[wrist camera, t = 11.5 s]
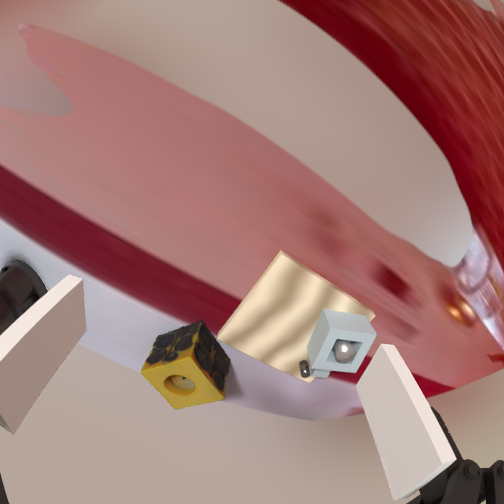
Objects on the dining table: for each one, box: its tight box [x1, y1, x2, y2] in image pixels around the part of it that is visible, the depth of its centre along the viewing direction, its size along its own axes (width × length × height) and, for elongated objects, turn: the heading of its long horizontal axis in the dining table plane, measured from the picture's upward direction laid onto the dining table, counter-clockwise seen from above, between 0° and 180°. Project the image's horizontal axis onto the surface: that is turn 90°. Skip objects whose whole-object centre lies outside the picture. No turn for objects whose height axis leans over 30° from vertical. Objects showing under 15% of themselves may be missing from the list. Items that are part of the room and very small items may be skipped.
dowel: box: [299, 360, 310, 378], centre depth 46 cm, size 2×2×3 cm
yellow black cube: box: [141, 321, 230, 409], centre depth 44 cm, size 10×10×10 cm
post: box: [333, 339, 356, 363], centre depth 42 cm, size 3×3×6 cm
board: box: [217, 250, 375, 383], centre depth 46 cm, size 20×18×2 cm
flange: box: [307, 308, 377, 378], centre depth 44 cm, size 13×8×6 cm, turn 166°
